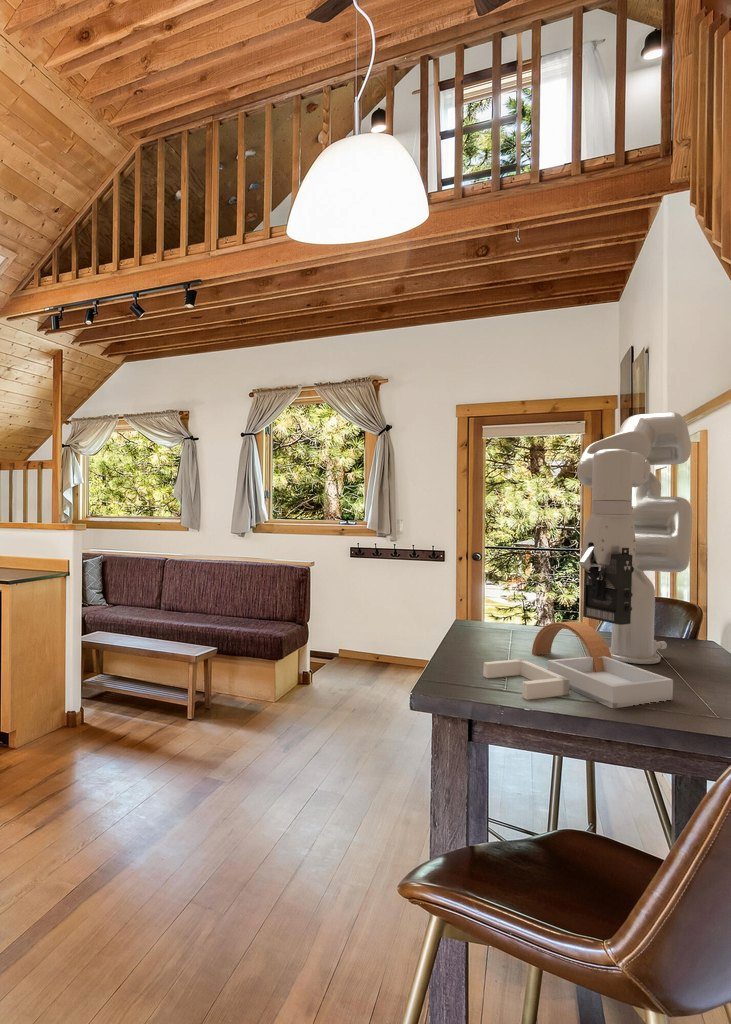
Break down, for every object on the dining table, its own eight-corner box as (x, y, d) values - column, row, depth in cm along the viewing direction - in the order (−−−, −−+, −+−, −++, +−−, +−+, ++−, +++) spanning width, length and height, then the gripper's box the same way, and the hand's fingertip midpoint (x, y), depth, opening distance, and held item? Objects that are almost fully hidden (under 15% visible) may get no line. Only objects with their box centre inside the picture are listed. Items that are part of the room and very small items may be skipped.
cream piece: (521, 672, 120) (522, 658, 120) (569, 694, 106) (569, 679, 106) (483, 676, 116) (483, 662, 116) (526, 699, 102) (527, 684, 102)
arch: (595, 676, 118) (595, 630, 118) (531, 656, 136) (531, 617, 136) (614, 673, 120) (613, 628, 120) (549, 654, 138) (548, 615, 139)
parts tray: (601, 672, 121) (602, 655, 121) (672, 700, 104) (673, 679, 104) (547, 678, 116) (547, 660, 116) (612, 708, 99) (613, 686, 99)
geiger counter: (639, 624, 106) (641, 548, 106) (624, 625, 104) (626, 548, 104) (594, 614, 115) (596, 544, 115) (579, 615, 113) (581, 544, 113)
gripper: (628, 511, 116) (625, 595, 116) (564, 509, 110) (562, 597, 110) (658, 511, 109) (655, 600, 109) (592, 509, 103) (589, 603, 103)
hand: (608, 598), depth 110 cm, fingers closed on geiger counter, 5 cm apart
